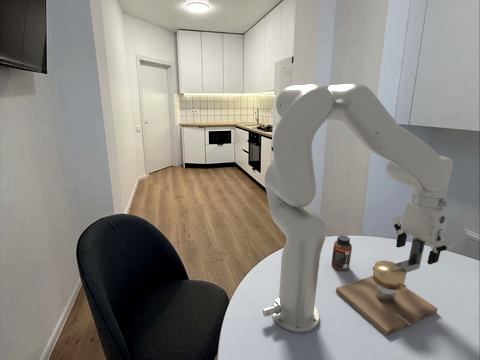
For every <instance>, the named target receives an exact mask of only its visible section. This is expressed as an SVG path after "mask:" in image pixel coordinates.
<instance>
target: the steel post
mask: <svg viewBox="0 0 480 360" xmlns="http://www.w3.org/2000/svg"><path fill="white" fill-rule="evenodd" d="M395 295H396V290H391V289H387V288H384V287H382V286H380V285H378V284H377V288H376V293H375V296H376V298H377V299H378V300H379V301H381V302H383V303H387V304H391V303H393V302H394V299H395Z"/></svg>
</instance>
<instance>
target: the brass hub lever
mask: <svg viewBox="0 0 480 360" xmlns="http://www.w3.org/2000/svg"><path fill="white" fill-rule="evenodd" d="M411 242H412V244H411V247H410V251H409V256H408V259H407V260H404V261H400V262H397V263H396V262H393V261H389V260H378V261H376V262H375V264H374V266H372V272H373V273H372V276H373V280H374V281H375V282H376V283H377V284H378V285H380V286H382V287H384V288H387V289H391V290H402V291H404V290H406V288H408V287H407V285H406V284H405V282H406V278H407V273H410V272H413V271H416V270H419V269H420V268H421V262H422V257H423V253H424V249H425V246H426V245H425V244H426V242H425V241H422V240H420V239H418V238H416V237H413V238H412V241H411Z"/></svg>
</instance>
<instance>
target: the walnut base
mask: <svg viewBox="0 0 480 360" xmlns="http://www.w3.org/2000/svg"><path fill="white" fill-rule="evenodd" d="M376 288H377V283H376V282H375V281H374V280H373V275H371V276H370V275H369V276H368V277H365V278H361V279H359V280H356V281H353V282H349V283H346V284H343V285H340V286H338V287H336V290H335V293H336V294H338V295H339V296H340V297H341V298H342V299H343V300H344V301H345V302H347V303H348V304H349V305H350V306H352V307H353V308H354V309H355V310H356V311H357V312H358V313H360V315H362V317H364V318H365V319H366V321H368V322H369V323H371V324H372V325H373V326H374V327H375V328H376V329H378V330H379V332H381V333H382V335H384V336H386V337H388V336H389V335H391V334H394V333H395V332H398V331H400V330H401V329H404V328H406V327H409V326H411V325H412V324H415V323H418V322H420V321H421V320H423V319H425V318H428V317H431V316H433V315H434V314H436V313H437V312H438V307H436V306H435V305H434V304H432V303H430V302H429V301H427V300H426V299H425V298H423V297H421V296H420V295H418V294H416V293H415V292H414V291H412V290H410V289H409V288H408V287H406V290H404V291H402V290H396V295H395V299H394V302H393V303H391V304H387V303H383V302H381V301H379V300H378V299H377V298H376V296H375V293H376Z"/></svg>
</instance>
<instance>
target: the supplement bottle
mask: <svg viewBox="0 0 480 360" xmlns="http://www.w3.org/2000/svg"><path fill="white" fill-rule="evenodd" d="M352 250H353V245H352V244H351V238H350V237H349V236H347V235H345V234H343V235H342V234H341V235H340V234H339V235H337V240H335V241H334V242H333V248H332V257H331V266H332V267H333V268H334V269H335V270H339V271H347V270H348V269H349V268H350V264H351V256H352Z"/></svg>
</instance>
